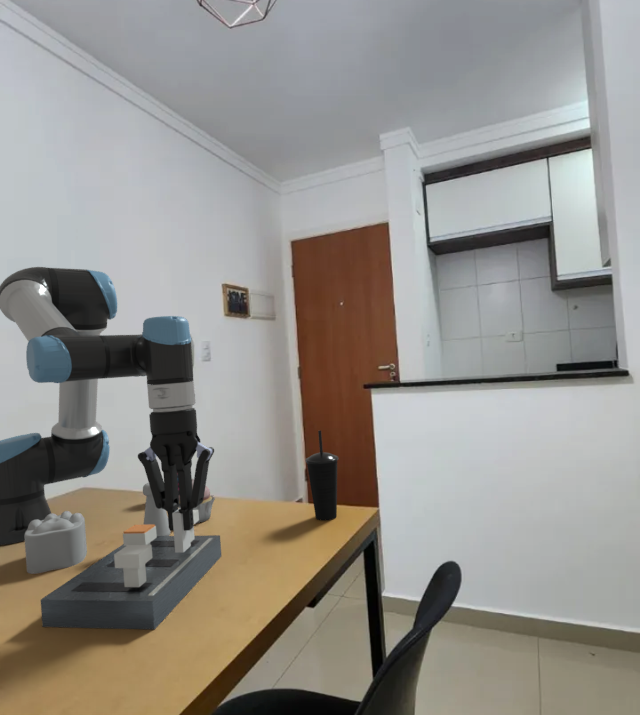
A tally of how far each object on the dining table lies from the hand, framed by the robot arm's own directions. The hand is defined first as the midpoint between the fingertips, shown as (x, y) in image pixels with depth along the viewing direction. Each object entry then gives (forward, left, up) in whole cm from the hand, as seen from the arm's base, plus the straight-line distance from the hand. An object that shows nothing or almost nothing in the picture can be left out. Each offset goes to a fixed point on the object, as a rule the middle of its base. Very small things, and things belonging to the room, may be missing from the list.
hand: (183, 549), depth 80 cm
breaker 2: (-4, +8, -2) cm, 9 cm away
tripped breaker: (-8, 0, -2) cm, 8 cm away
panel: (-8, 0, -6) cm, 10 cm away
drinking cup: (+18, +34, -7) cm, 39 cm away
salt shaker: (-16, +19, -7) cm, 25 cm away
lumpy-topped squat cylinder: (-34, +12, -7) cm, 36 cm away
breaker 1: (-4, -8, -2) cm, 9 cm away
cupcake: (-14, +34, -7) cm, 37 cm away
